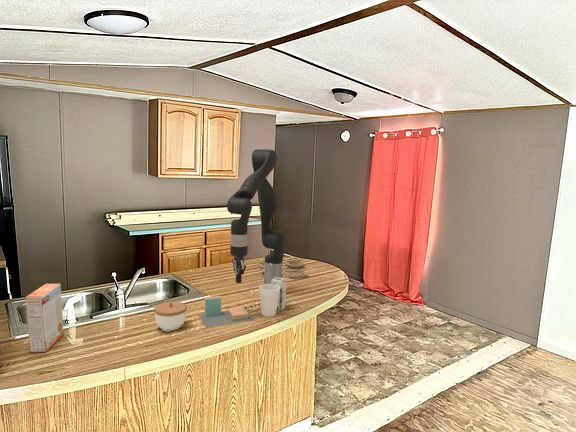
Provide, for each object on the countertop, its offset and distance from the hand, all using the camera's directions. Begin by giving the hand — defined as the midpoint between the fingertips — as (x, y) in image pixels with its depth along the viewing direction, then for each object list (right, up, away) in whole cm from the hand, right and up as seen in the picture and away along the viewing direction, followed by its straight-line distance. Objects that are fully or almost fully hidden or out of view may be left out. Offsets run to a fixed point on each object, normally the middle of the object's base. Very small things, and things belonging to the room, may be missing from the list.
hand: (238, 282), depth 178 cm
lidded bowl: (-26, -17, -11) cm, 33 cm away
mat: (-5, -16, 0) cm, 17 cm away
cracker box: (-67, -18, -28) cm, 75 cm away
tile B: (-12, -15, +2) cm, 19 cm away
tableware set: (+18, -6, +77) cm, 79 cm away
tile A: (-2, -13, +5) cm, 14 cm away
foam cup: (+13, -16, +6) cm, 21 cm away
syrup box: (+17, -15, +15) cm, 27 cm away
